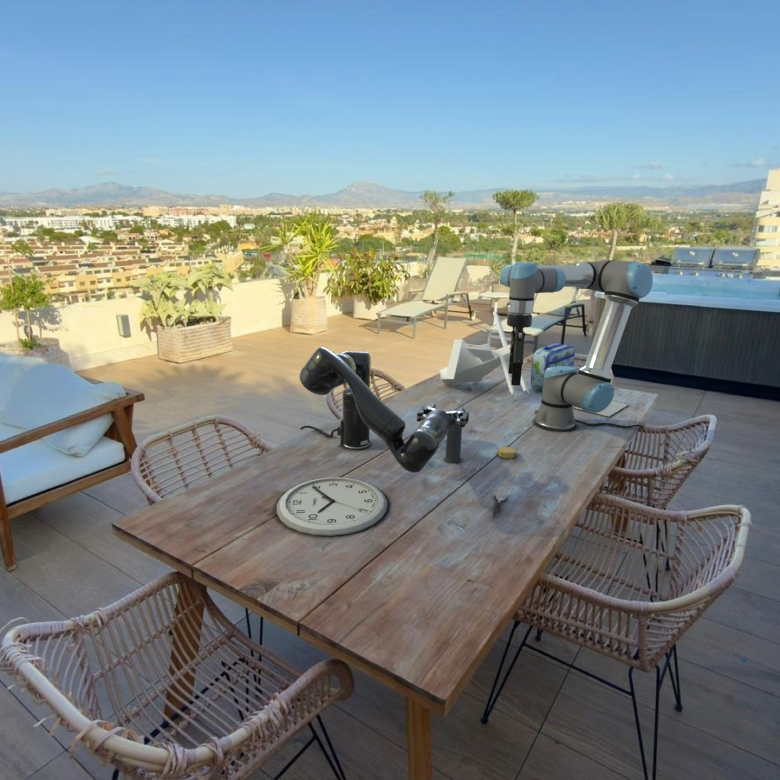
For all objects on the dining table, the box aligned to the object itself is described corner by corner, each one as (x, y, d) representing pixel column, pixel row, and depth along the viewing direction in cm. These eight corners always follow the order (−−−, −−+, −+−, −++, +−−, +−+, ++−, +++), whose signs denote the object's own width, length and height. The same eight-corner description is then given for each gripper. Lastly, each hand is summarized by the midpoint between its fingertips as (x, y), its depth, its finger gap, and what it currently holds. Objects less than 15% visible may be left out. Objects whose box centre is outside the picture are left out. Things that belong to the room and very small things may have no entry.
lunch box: (547, 395, 239) (552, 351, 233) (526, 390, 247) (530, 347, 240) (574, 384, 257) (579, 343, 251) (554, 380, 264) (558, 339, 258)
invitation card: (608, 416, 214) (573, 407, 224) (608, 416, 214) (573, 408, 224) (628, 404, 229) (594, 396, 238) (628, 405, 229) (594, 397, 238)
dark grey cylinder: (462, 461, 171) (465, 415, 166) (450, 464, 169) (453, 417, 164) (454, 455, 175) (457, 411, 170) (442, 458, 173) (445, 413, 168)
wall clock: (392, 527, 129) (268, 531, 127) (391, 533, 130) (269, 537, 127) (383, 473, 158) (282, 475, 155) (383, 478, 158) (282, 480, 156)
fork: (488, 519, 137) (488, 512, 136) (497, 492, 151) (498, 485, 151) (498, 521, 136) (498, 514, 135) (507, 493, 150) (507, 487, 150)
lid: (496, 456, 175) (496, 451, 175) (501, 450, 180) (501, 445, 179) (512, 459, 173) (512, 454, 172) (516, 454, 177) (517, 448, 177)
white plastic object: (461, 429, 252) (437, 405, 227) (444, 352, 274) (420, 323, 250) (535, 404, 240) (518, 377, 215) (510, 326, 262) (492, 293, 237)
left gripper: (409, 436, 144) (424, 417, 159) (460, 444, 140) (471, 423, 154) (409, 411, 142) (425, 393, 156) (461, 418, 137) (472, 399, 152)
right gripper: (505, 307, 174) (500, 368, 181) (510, 319, 151) (504, 389, 157) (528, 308, 173) (522, 369, 180) (537, 320, 150) (529, 391, 156)
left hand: (448, 408), depth 155 cm, fingers open, 8 cm apart
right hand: (514, 379), depth 169 cm, fingers open, 13 cm apart
